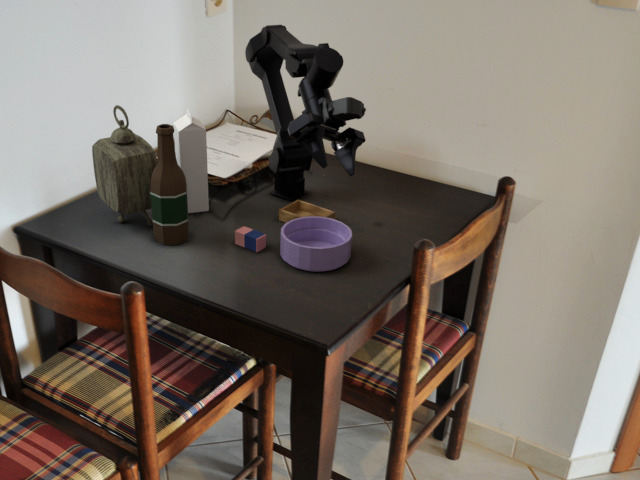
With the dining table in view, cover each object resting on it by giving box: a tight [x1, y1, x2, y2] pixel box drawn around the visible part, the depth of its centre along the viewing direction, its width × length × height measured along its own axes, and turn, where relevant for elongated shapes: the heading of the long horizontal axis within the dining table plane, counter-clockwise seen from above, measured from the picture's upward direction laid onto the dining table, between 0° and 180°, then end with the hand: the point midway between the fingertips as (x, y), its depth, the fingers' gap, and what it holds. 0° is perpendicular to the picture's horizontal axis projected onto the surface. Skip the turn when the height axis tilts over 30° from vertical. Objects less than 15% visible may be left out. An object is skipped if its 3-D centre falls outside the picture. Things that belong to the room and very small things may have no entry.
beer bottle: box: [150, 123, 190, 246], centre depth 153 cm, size 8×8×24 cm
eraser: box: [234, 225, 267, 253], centre depth 157 cm, size 6×3×3 cm, turn 52°
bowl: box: [279, 216, 353, 273], centre depth 153 cm, size 14×14×6 cm
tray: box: [278, 199, 336, 223], centre depth 167 cm, size 10×7×2 cm
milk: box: [173, 107, 210, 214], centre depth 166 cm, size 6×6×22 cm
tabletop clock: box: [91, 104, 158, 227], centre depth 159 cm, size 14×9×25 cm, turn 33°
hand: (339, 171), depth 150 cm, fingers open, 9 cm apart
